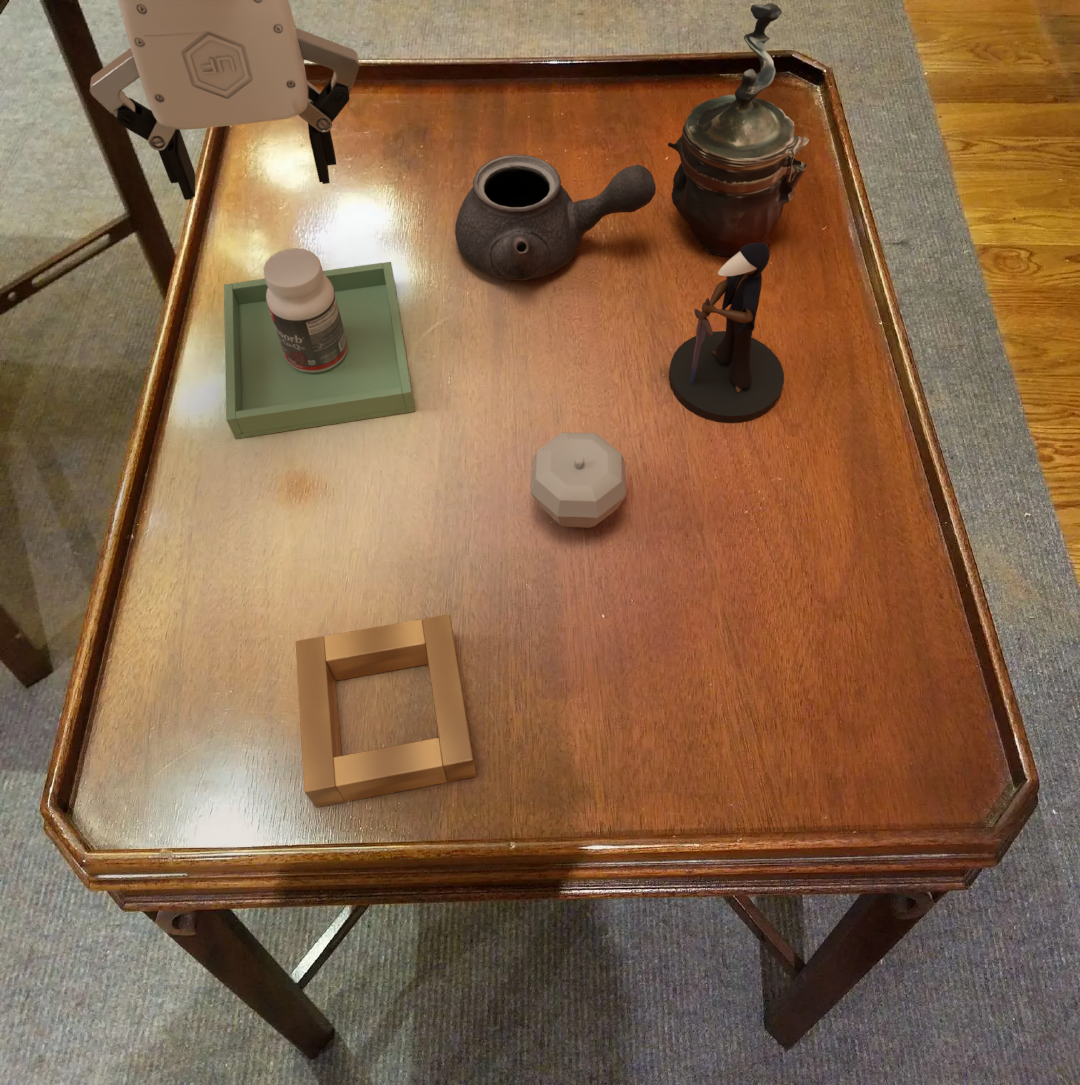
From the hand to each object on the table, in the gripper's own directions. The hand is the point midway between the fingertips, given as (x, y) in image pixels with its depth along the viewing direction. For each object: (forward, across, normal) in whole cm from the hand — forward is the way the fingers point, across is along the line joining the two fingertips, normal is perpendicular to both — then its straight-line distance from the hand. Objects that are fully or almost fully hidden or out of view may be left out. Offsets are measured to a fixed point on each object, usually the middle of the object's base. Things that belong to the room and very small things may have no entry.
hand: (257, 180), depth 67 cm
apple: (+19, +20, -20) cm, 34 cm away
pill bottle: (+19, +1, +1) cm, 19 cm away
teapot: (+19, +24, +10) cm, 32 cm away
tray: (+19, +1, +1) cm, 19 cm away
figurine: (+19, +36, -9) cm, 42 cm away
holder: (+20, +3, -35) cm, 40 cm away
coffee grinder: (+19, +42, +12) cm, 48 cm away
